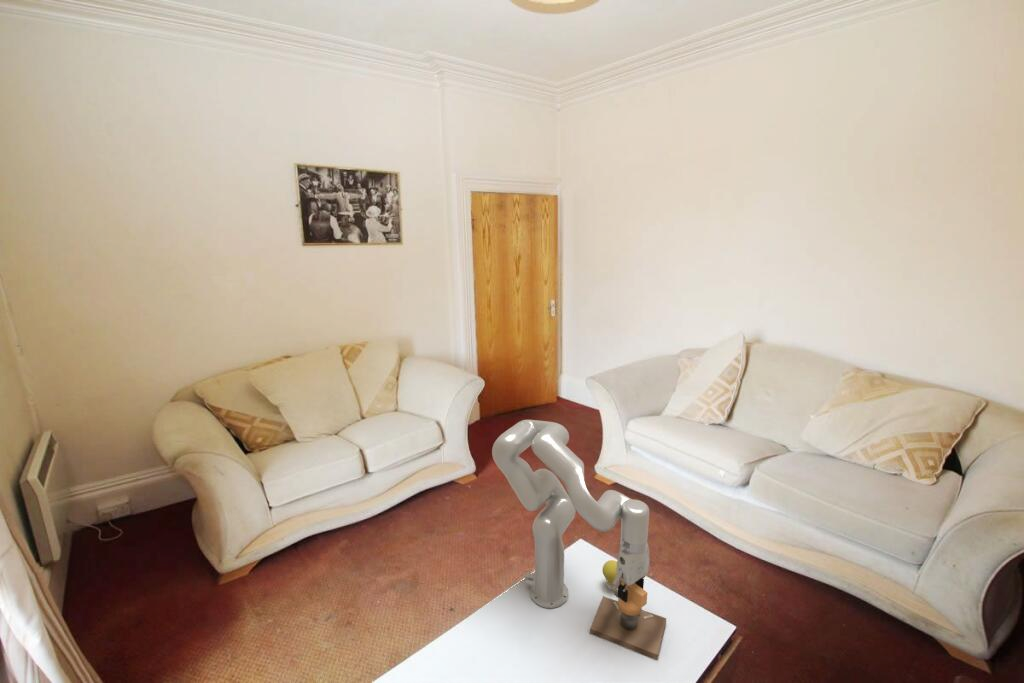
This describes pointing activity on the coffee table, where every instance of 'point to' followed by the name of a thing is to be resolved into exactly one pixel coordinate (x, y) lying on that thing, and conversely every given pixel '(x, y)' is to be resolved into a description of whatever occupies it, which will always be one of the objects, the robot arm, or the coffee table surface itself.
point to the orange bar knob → (632, 600)
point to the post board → (629, 638)
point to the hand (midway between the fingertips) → (630, 592)
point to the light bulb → (610, 573)
